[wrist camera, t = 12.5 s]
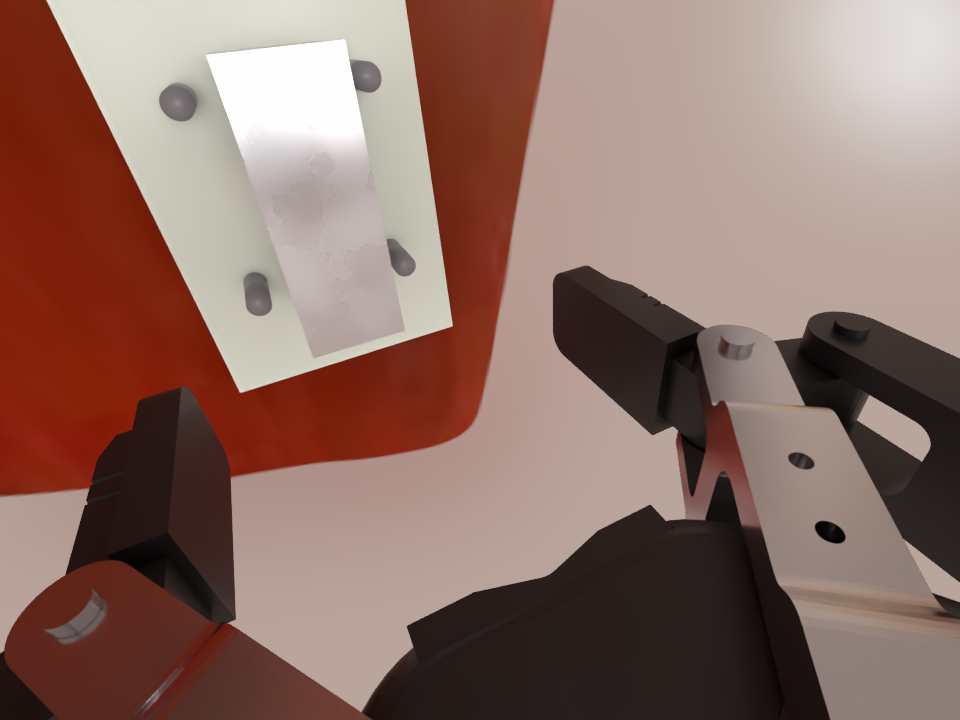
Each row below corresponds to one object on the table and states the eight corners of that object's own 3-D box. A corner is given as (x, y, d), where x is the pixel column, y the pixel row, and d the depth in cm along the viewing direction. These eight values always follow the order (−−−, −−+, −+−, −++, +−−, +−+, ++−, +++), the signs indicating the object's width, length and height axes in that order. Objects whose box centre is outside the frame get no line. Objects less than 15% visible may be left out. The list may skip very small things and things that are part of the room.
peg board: (10, -92, 18) (-39, -125, 14) (379, -104, 22) (409, -132, 18) (239, 379, 30) (242, 422, 27) (444, 316, 35) (469, 346, 31)
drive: (209, 52, 21) (206, 55, 16) (316, 40, 22) (347, 39, 17) (294, 298, 28) (313, 358, 22) (372, 277, 29) (407, 330, 24)
